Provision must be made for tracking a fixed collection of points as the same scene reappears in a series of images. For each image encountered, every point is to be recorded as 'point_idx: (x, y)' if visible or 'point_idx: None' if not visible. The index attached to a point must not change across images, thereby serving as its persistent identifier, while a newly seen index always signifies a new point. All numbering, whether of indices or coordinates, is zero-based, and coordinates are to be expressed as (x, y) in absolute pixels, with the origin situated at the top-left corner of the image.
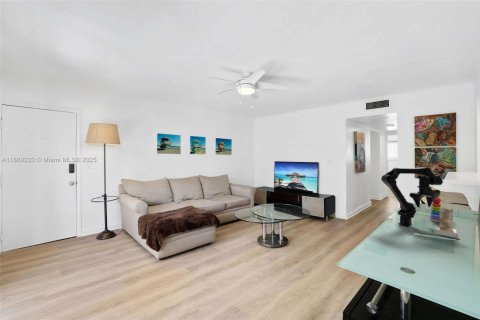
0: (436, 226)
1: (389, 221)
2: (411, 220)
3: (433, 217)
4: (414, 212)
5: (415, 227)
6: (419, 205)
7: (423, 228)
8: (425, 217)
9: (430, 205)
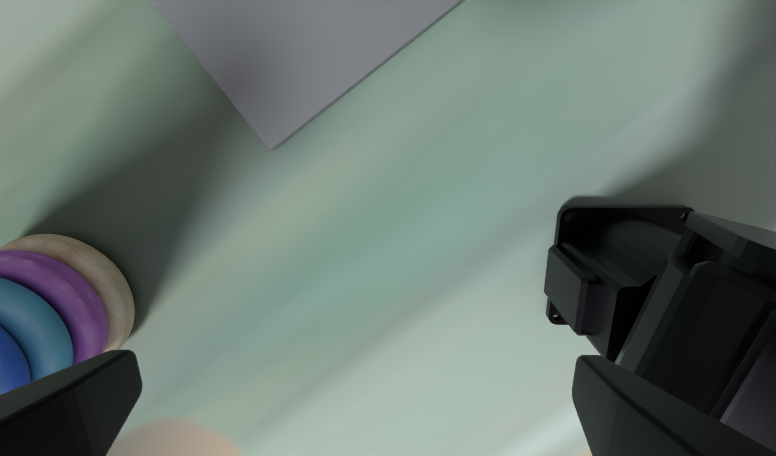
0: (316, 82)
1: None
2: (577, 265)
3: (82, 323)
4: (761, 243)
5: (589, 156)
6: (644, 394)
7: (526, 98)
8: None
9: (75, 371)
